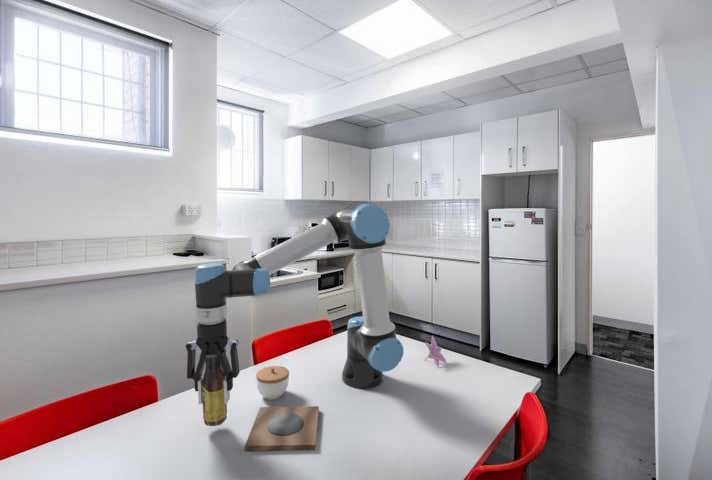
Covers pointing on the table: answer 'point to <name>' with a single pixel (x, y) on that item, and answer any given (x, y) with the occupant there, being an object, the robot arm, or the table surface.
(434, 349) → the lily
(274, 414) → the walnut board
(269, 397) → the lidded jar
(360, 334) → the robot arm
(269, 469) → the table surface
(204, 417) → the sauce bottle
